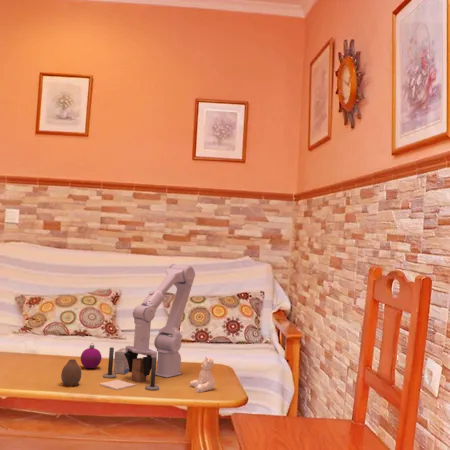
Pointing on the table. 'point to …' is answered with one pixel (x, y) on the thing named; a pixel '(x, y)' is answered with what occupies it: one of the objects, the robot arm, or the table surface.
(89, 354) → the christmas ornament
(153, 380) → the post
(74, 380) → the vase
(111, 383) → the white pad
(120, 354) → the medicine box
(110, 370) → the post
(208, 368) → the seated beast figurine
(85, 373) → the table surface
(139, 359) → the walnut block
